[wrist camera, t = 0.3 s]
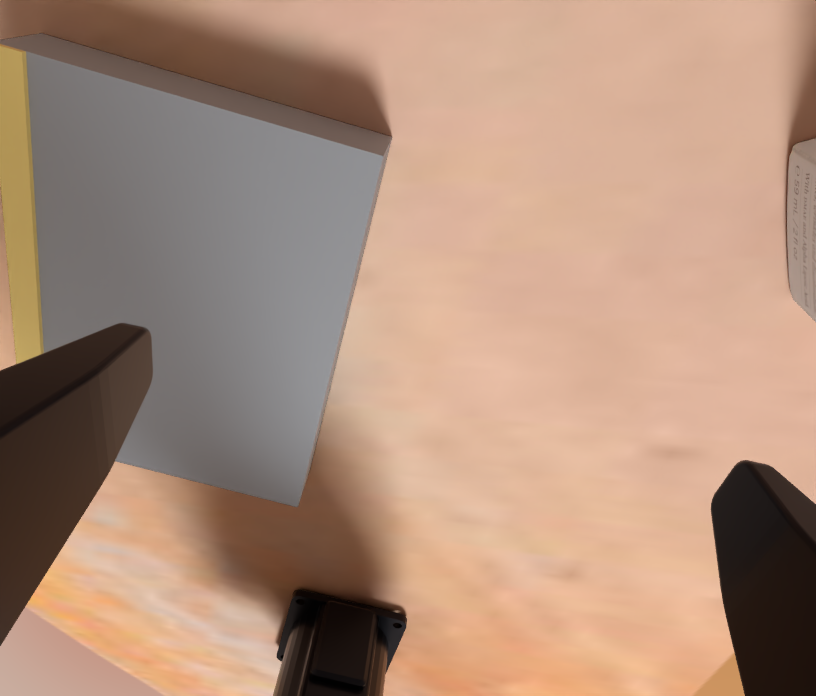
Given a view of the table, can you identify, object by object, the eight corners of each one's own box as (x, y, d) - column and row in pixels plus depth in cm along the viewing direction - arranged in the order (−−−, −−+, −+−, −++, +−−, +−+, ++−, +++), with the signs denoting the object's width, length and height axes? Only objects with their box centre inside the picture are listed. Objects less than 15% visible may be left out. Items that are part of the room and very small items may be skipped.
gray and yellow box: (310, 468, 30) (296, 510, 28) (58, 403, 29) (23, 441, 27) (391, 136, 22) (382, 157, 19) (41, 33, 21) (-13, 42, 18)
